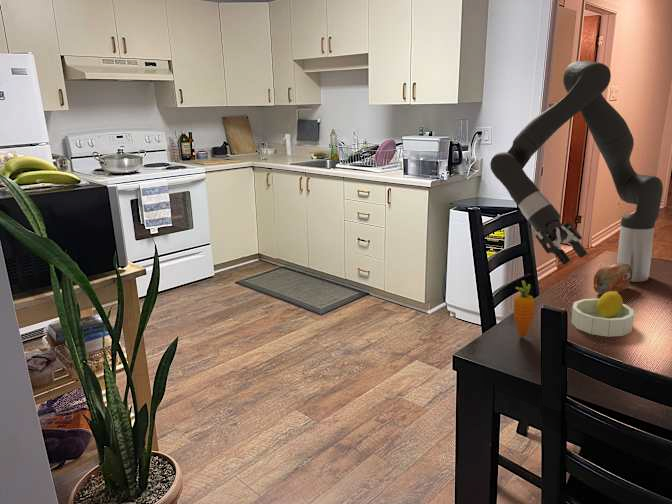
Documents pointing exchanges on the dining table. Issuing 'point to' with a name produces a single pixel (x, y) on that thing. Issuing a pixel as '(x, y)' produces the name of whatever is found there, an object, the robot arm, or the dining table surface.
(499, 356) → the dining table surface
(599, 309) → the lemon
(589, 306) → the bowl
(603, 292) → the tin
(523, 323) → the carrot
